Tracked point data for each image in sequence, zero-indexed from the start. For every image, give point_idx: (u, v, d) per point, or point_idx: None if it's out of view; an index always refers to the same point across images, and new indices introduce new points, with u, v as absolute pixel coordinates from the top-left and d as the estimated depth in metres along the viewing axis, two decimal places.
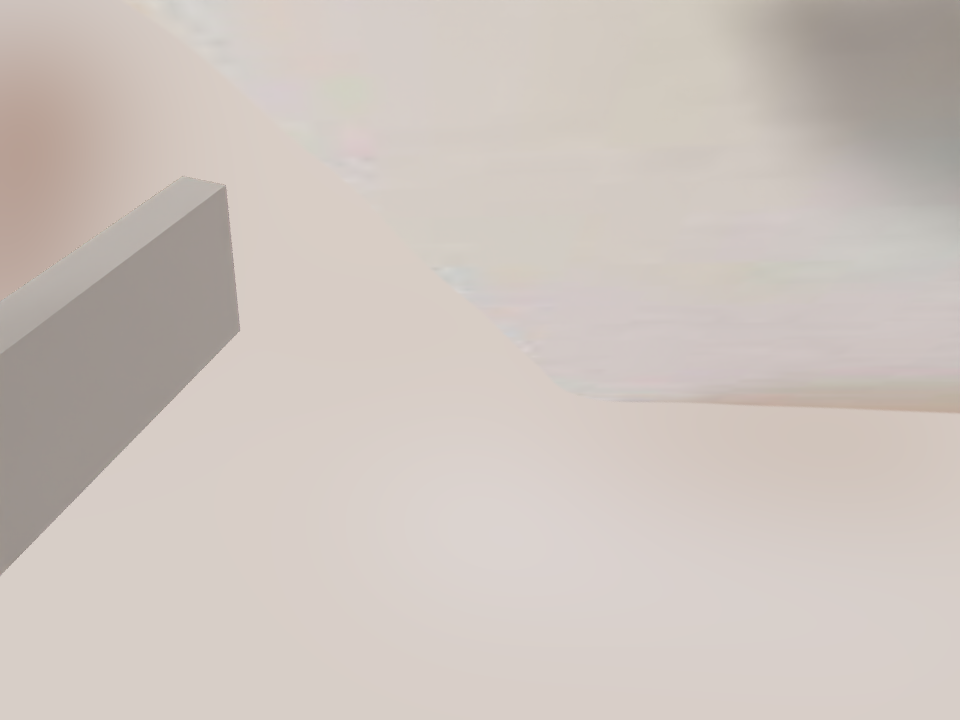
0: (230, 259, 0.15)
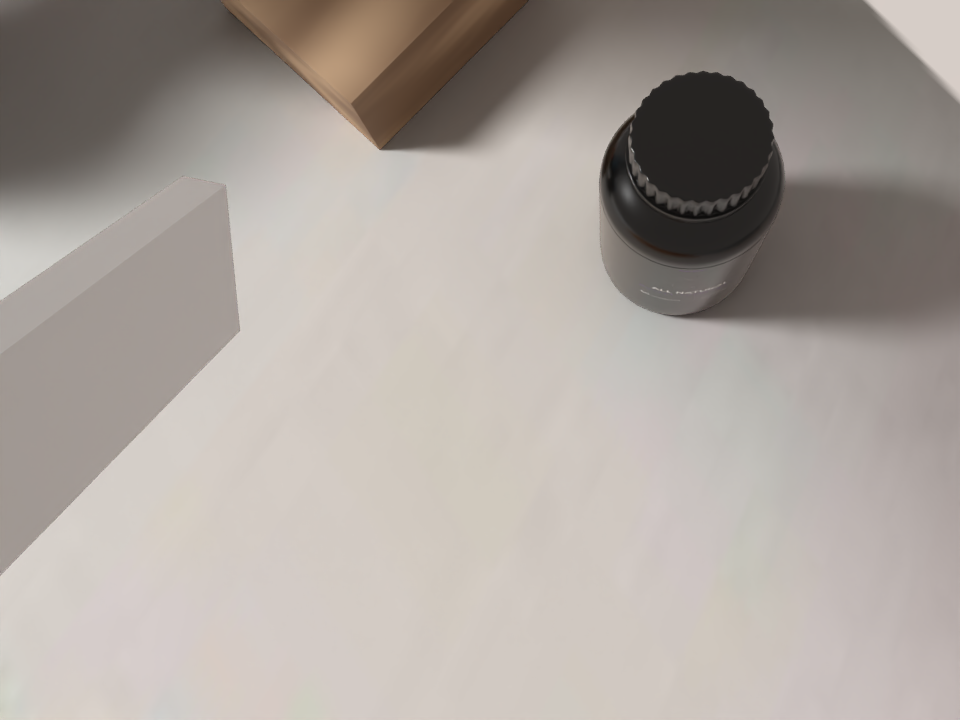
0: (230, 259, 0.15)
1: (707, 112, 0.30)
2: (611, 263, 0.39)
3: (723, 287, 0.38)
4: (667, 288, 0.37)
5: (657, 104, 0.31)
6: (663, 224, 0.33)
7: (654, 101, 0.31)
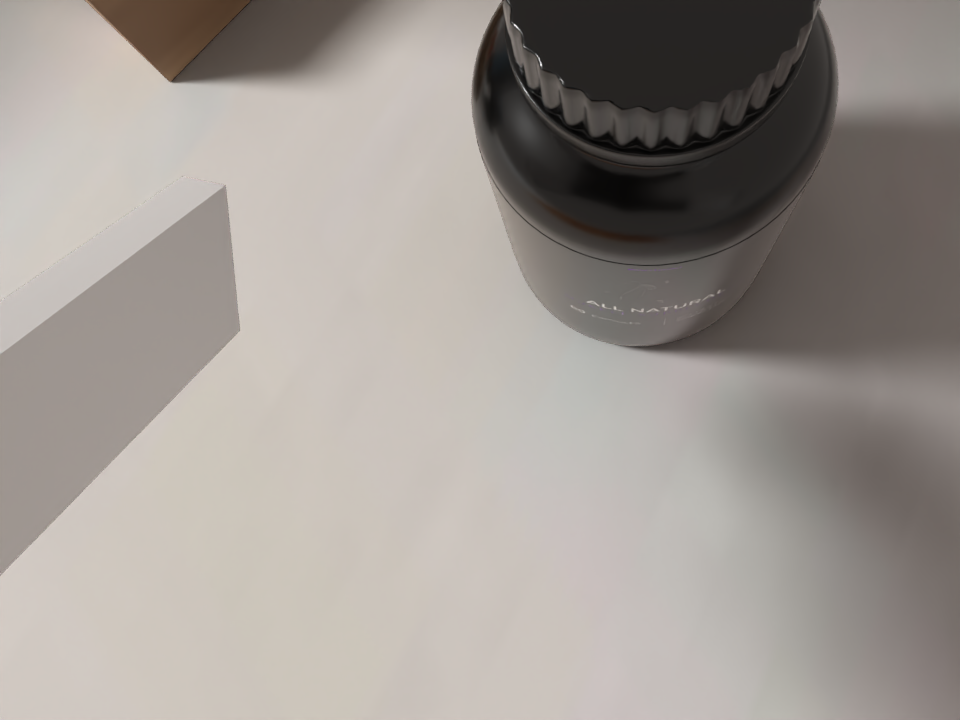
0: (230, 259, 0.15)
1: None
2: (519, 258, 0.22)
3: (718, 299, 0.21)
4: (613, 303, 0.20)
5: None
6: (589, 171, 0.16)
7: None
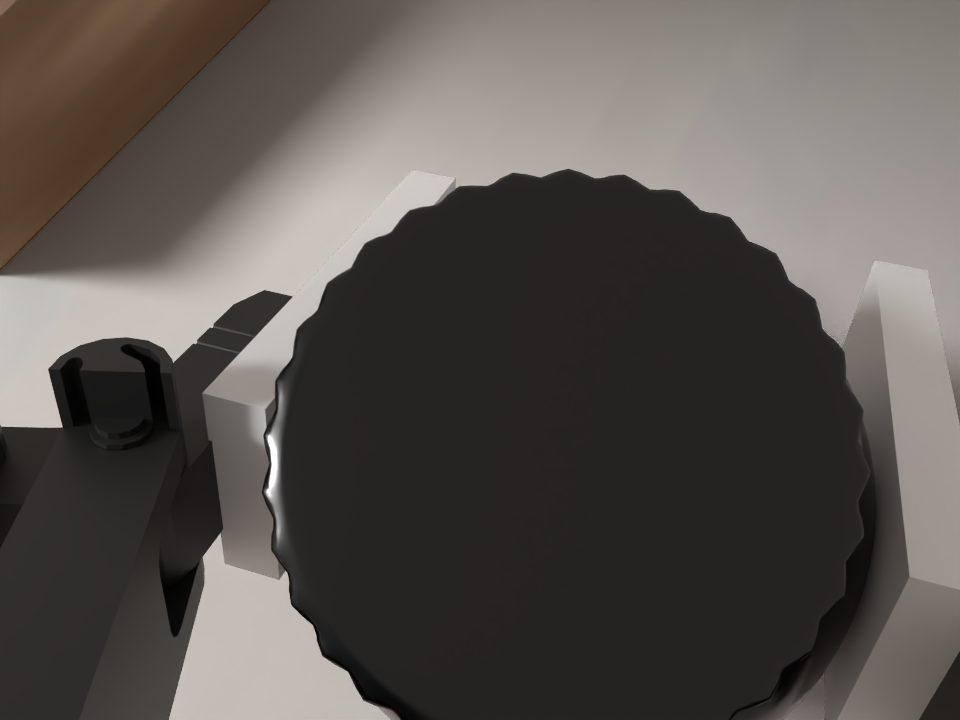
0: None
1: (580, 348, 0.07)
2: None
3: None
4: None
5: (378, 307, 0.07)
6: None
7: (367, 294, 0.07)
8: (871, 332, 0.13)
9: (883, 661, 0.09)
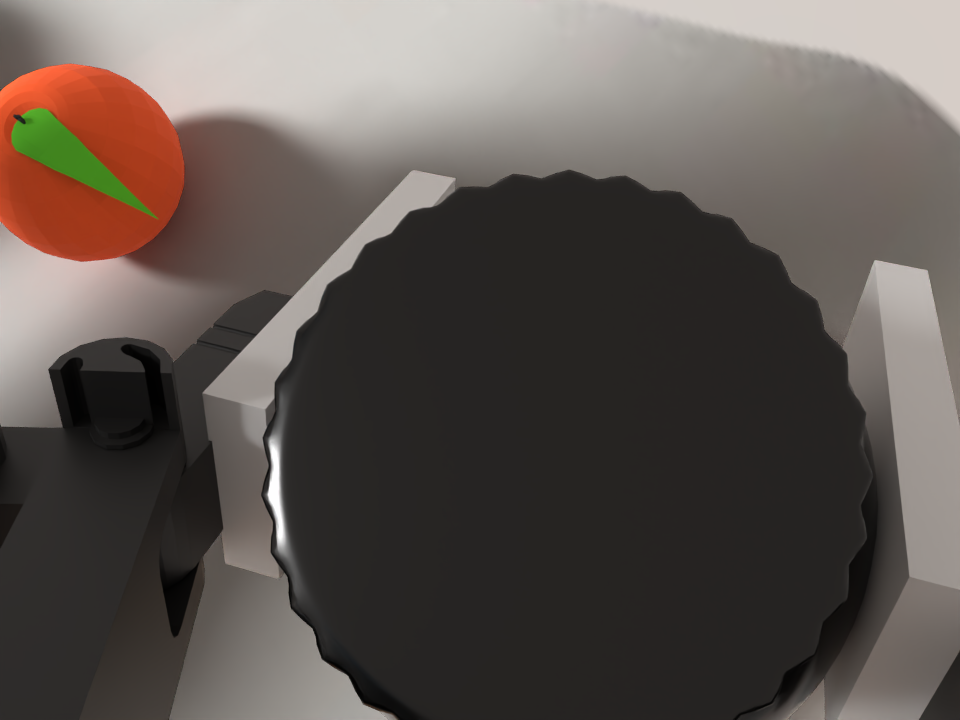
0: None
1: (580, 350, 0.07)
2: None
3: None
4: None
5: (378, 309, 0.07)
6: None
7: (367, 296, 0.07)
8: (871, 332, 0.13)
9: (883, 661, 0.09)
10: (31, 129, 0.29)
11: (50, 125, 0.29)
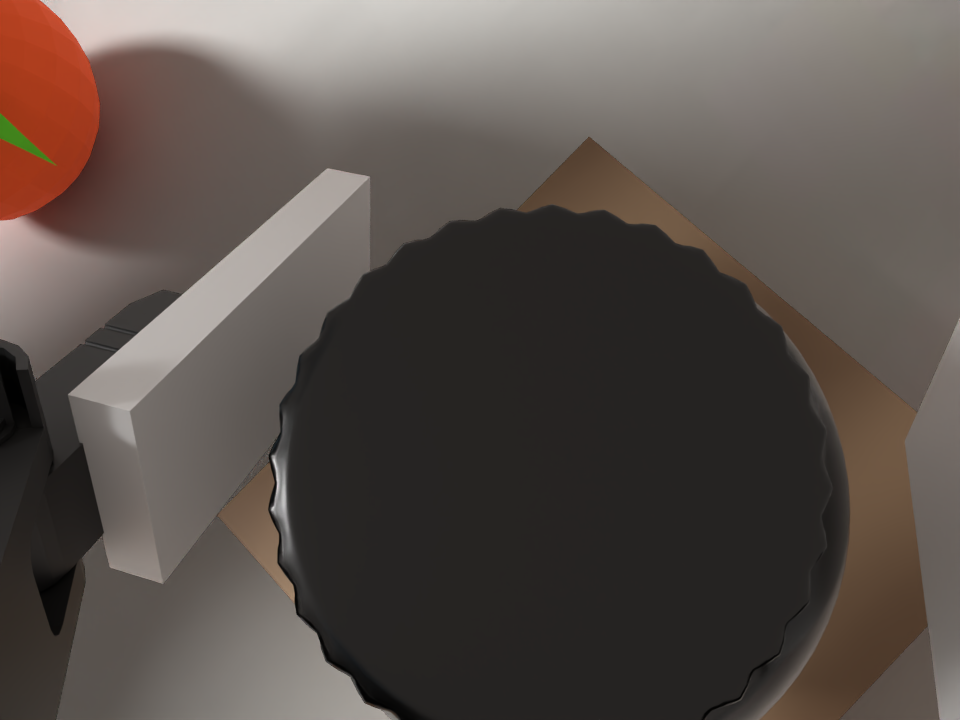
0: (367, 248, 0.15)
1: (563, 373, 0.08)
2: None
3: None
4: None
5: (375, 335, 0.08)
6: None
7: (364, 323, 0.08)
8: None
9: None
10: None
11: None
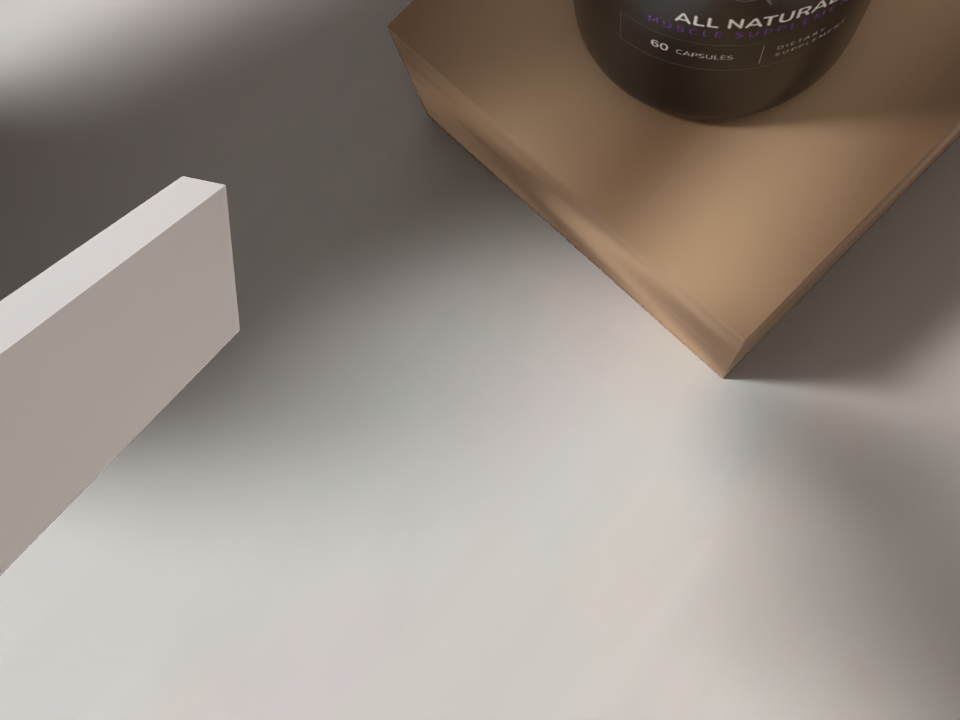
0: (230, 259, 0.15)
1: None
2: None
3: (826, 22, 0.18)
4: (710, 9, 0.17)
5: None
6: None
7: None
8: None
9: None
10: None
11: None
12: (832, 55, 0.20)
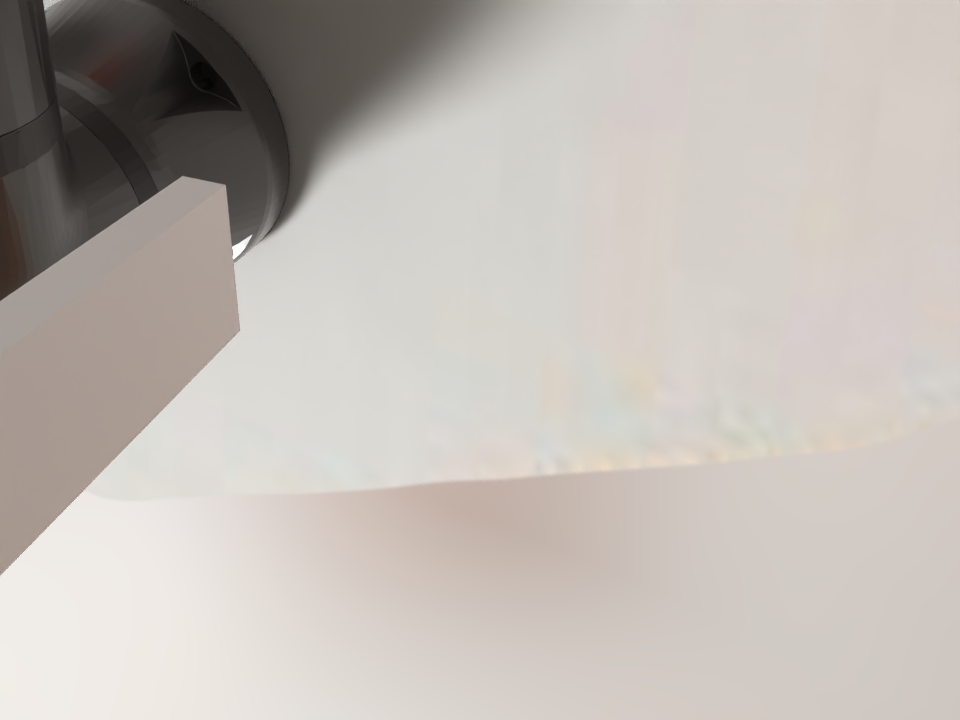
0: (230, 259, 0.15)
1: None
2: None
3: None
4: None
5: None
6: None
7: None
8: None
9: None
10: None
11: None
12: None
